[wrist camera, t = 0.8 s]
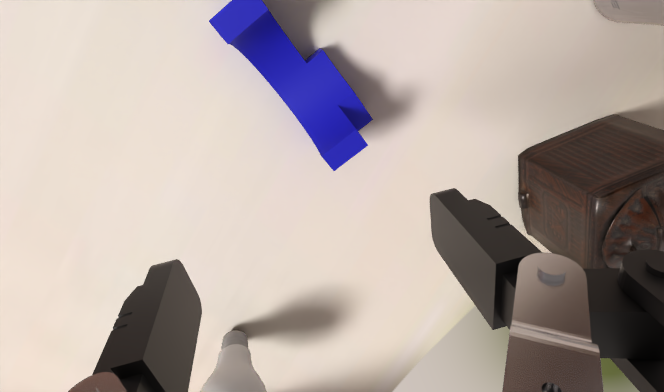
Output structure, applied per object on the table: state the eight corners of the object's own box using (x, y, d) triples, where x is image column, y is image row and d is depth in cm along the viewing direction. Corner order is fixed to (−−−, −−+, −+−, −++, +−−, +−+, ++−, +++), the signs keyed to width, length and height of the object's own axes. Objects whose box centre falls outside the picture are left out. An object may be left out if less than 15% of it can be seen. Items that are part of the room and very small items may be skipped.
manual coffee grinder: (509, 154, 35) (713, 276, 20) (615, 110, 36) (900, 198, 20) (520, 267, 43) (672, 418, 28) (607, 231, 43) (808, 362, 28)
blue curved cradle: (362, 109, 31) (385, 131, 25) (320, 142, 31) (333, 171, 26) (266, -29, 25) (271, -35, 20) (216, 16, 25) (208, 21, 20)
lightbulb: (254, 356, 41) (255, 462, 32) (198, 349, 39) (182, 461, 30) (272, 317, 39) (279, 419, 30) (214, 307, 37) (202, 414, 28)
